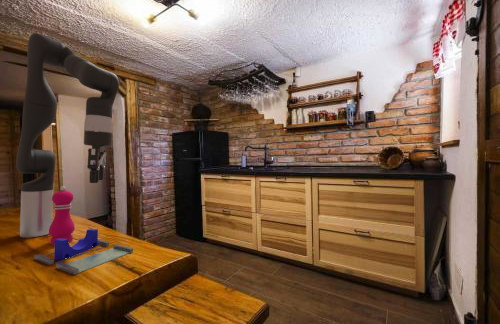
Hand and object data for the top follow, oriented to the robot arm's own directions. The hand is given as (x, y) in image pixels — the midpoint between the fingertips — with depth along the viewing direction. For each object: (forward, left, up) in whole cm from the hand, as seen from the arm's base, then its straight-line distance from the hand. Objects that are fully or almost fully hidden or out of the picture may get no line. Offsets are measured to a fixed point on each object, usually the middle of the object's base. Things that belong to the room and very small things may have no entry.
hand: (96, 181), depth 73 cm
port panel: (0, -3, -23) cm, 23 cm away
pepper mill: (-20, 0, -23) cm, 31 cm away
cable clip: (-6, -3, -23) cm, 24 cm away
